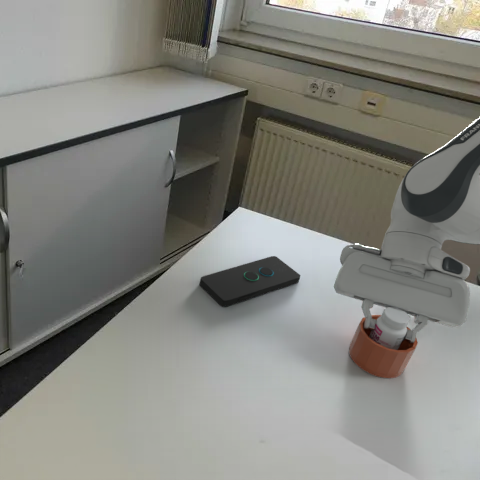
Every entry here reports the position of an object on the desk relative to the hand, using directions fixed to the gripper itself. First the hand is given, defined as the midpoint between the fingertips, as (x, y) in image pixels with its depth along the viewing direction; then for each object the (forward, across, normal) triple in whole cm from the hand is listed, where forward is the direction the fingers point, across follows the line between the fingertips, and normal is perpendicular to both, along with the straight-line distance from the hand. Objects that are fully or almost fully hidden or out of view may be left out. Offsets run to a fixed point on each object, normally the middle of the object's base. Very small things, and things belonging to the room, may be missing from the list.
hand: (388, 335), depth 89 cm
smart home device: (-4, -24, +12) cm, 27 cm away
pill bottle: (+3, 0, +4) cm, 5 cm away
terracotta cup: (+4, 0, +5) cm, 6 cm away
